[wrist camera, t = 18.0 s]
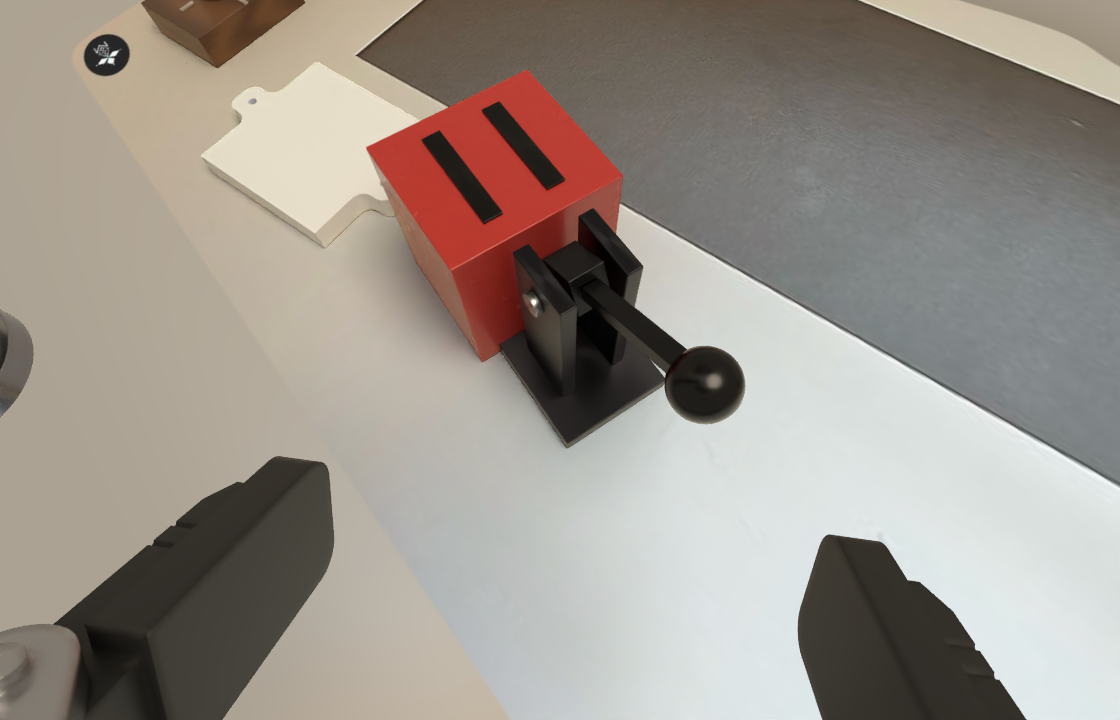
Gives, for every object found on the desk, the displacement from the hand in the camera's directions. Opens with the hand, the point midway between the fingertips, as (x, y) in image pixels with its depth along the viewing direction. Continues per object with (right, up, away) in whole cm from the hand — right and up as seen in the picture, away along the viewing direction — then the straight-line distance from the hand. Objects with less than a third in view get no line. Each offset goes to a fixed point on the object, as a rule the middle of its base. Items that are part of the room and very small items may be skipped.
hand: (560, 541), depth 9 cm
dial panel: (-31, +36, +46) cm, 66 cm away
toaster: (-4, +9, +34) cm, 35 cm away
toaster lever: (+4, +3, +19) cm, 19 cm away
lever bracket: (+1, +3, +31) cm, 31 cm away
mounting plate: (-20, +20, +39) cm, 48 cm away
